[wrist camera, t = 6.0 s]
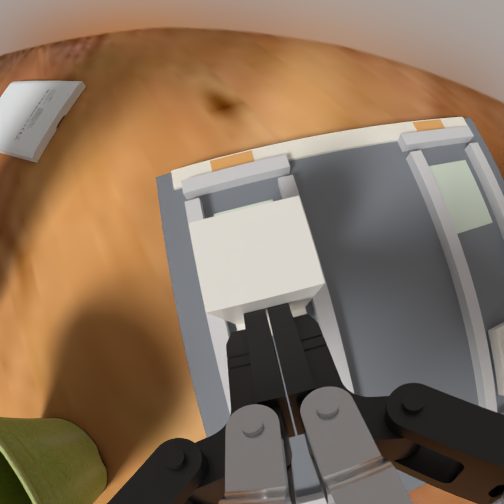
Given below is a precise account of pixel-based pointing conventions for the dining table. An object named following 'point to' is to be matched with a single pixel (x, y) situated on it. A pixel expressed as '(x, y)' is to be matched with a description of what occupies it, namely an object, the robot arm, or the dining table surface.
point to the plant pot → (48, 463)
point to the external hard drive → (34, 115)
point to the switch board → (362, 261)
